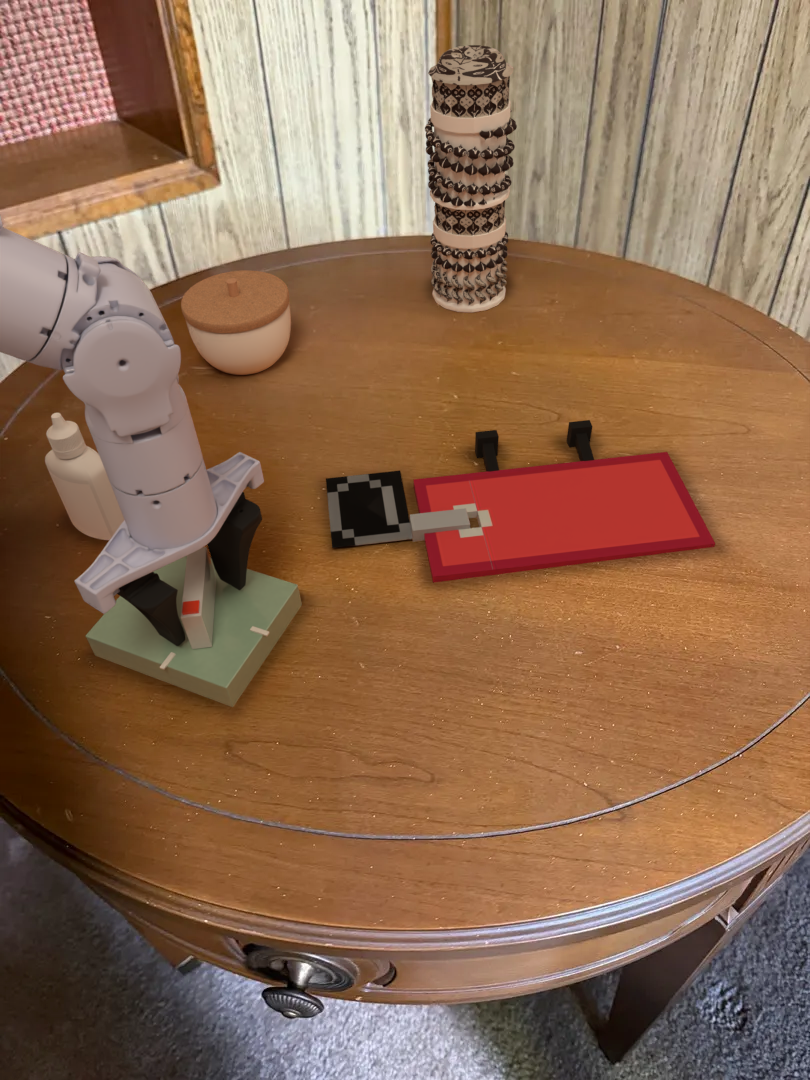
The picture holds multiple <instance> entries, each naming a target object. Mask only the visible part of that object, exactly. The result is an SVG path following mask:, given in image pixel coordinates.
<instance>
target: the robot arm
mask: <svg viewBox="0 0 810 1080" xmlns="http://www.w3.org/2000/svg"><path fill="white" fill-rule="evenodd" d="M0 353H2V354H5V355H8V356H10V357H12V358H16V359H19V360H22V361H25V362H27V363H30V364H32V365H36V366H39V367H43V368H48V369H54V370H58V371H63V372H64V374H63V376H62V380H63V382H64V384H65V385H66V387H67V389H68V390H69V391H70V392H71V393H72V394H73V395H74V397H76V398H77V399H78V400H80V401H81V402H83V404H84V419H85V423H86V425H87V427H88V430H89V432H90V433H89V434H90V435H91V438H92V440H93V443H94V446H95V449H96V450H97V451H96V452H97V453H98V454H99V456H100V458H101V461H102V463H103V466H104V468H105V471H106V474H107V476H108V479H109V481H110V484H111V486H112V489H113V491H114V494H115V497H116V499H117V502H118V504H119V507H120V509H121V512H122V514H123V517H124V519H125V520H124V521H123V522H122V524H121V525H120V526H119V528H118V529H117V531H116V532H115V533H114V535H113V536H112V538H111V539H110V540H108V542H107V543H106V544H105V546H104V547H103V549H102V550H101V551H100V552H99V554H98V555H97V557H96V558H95V560H93V562H92V563H91V565H89V567H88V568H86V570H85V571H83V573H82V574H81V575H79V576H78V577H77V578H76V579H74V580H73V581H74V583H75V586H76V588H77V590H78V592H79V594H80V596H81V598H82V600H83V602H84V603H86V604H88V605H89V606H90V607H92V608H93V609H95V610H97V611H98V612H100V613H101V614H103V615H104V614H105V613H106V612H108V611H109V610H110V609H111V608H112V607H114V606H115V604H116V599H115V596H116V595H118V597H119V596H121V597H123V598H124V599H125V600H127V601H128V602H129V603H131V604H132V605H133V606H134V607H135V608H137V609H138V610H139V611H140V612H141V613H142V614H143V615H144V616H145V617H146V618H147V619H148V620H149V622H150V623H151V624H152V625H153V626H154V628H155V629H156V630H157V632H158V633H159V635H160V636H162V637H164V638H165V639H167V640H168V641H170V642H171V643H173V644H174V645H176V646H179V645H180V644H182V643H183V642H184V641H185V632H184V630H183V627H182V624H181V622H180V619H179V616H178V612H177V604H176V598H177V592H178V590H177V589H175V588H174V587H172V586H170V585H169V584H167V583H165V582H164V581H162V580H160V578H159V576H158V574H157V573H154V572H153V571H155V570H157V569H160V568H162V567H164V566H166V565H168V564H170V563H172V562H174V561H177V560H179V559H181V558H183V557H185V556H187V555H189V554H191V553H194V552H196V551H197V550H199V549H201V548H203V547H207V549H208V553H209V556H210V557H211V558H212V562H213V565H214V568H215V570H216V572H217V574H218V576H219V578H220V580H222V581H224V582H226V583H227V584H229V585H231V586H233V587H234V588H236V589H238V590H241V589H242V588H243V587H244V586H245V584H246V573H247V569H248V561H249V556H250V555H249V554H250V550H251V548H252V547H251V546H252V543H253V540H254V537H255V534H256V532H257V530H258V528H259V526H260V524H261V523H262V520H263V516H262V511H261V508H260V506H259V504H257V503H255V502H253V501H251V500H250V499H247V498H246V495H245V492H244V490H245V489H247V488H249V489H251V490H256V489H258V488H259V487H260V486H261V485H262V484H264V483H265V479H264V474H263V469H262V465H261V461H260V460H258V459H256V458H253V457H252V456H250V455H247V454H245V453H244V452H241V451H239V452H237V453H236V454H234V455H232V457H230V458H228V459H226V460H224V461H223V462H220V463H218V464H217V465H214V466H211V467H209V468H206V463H205V460H204V456H203V453H202V449H201V446H200V442H199V441H200V440H199V438H198V436H197V435H198V434H197V432H196V428H195V424H194V421H193V417H192V414H191V410H190V406H189V402H188V399H187V396H186V393H185V391H184V389H183V387H182V386H181V385H180V376H179V373H180V369H181V365H182V351H181V346H180V345H178V344H175V339H174V337H173V334H172V332H171V330H170V329H169V326H168V324H167V321H166V320H165V318H164V316H163V314H162V311H161V310H160V308H159V306H158V303H157V301H156V299H155V297H154V295H153V293H152V291H151V290H150V288H149V286H148V285H147V284H146V283H145V282H144V280H143V279H142V278H141V277H140V276H139V275H138V274H137V273H136V272H134V270H132V269H131V268H128V267H127V266H125V265H124V264H123V263H122V262H121V261H120V260H119V259H117V258H116V257H111V256H101V255H100V256H99V255H97V256H89V255H87V254H85V253H83V252H78V253H77V254H76V256H75V258H73V257H71V256H69V255H67V254H64V253H62V252H60V251H57V250H55V249H53V248H51V247H48V246H46V245H44V244H42V243H40V242H37V241H35V240H33V239H31V238H29V237H26V236H24V235H22V234H19V233H18V232H15V231H14V230H13V231H12V229H11V230H10V229H8V228H6V227H3V219H2V216H1V215H0Z"/></svg>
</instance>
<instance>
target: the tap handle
mask: <svg viewBox="0 0 810 1080" xmlns="http://www.w3.org/2000/svg"><path fill="white" fill-rule="evenodd" d="M210 557H211V555H210V552H209V549H208V546H204V547H203V548H201V549H199V550H197V551H196V552H194V553H191V554H189V555H187V560H186V570H185V579H184V589H183V599H182V608H181V620H182V623H183V626H184V628H185V631H186V634H187V637H188V639H189V642H190V645H191V647H192V649H199V648H208V647H212V639H213V624H214V610H215V595H216V581H217V579H216V575H215V572H214V569H213V566H212V562H211V559H210Z"/></svg>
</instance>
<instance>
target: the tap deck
mask: <svg viewBox="0 0 810 1080" xmlns="http://www.w3.org/2000/svg"><path fill="white" fill-rule="evenodd" d="M210 559H211V562H212V558H211V556H210ZM186 560H187V556H185V557H183V558H181V559H179V560H177V561H174V562H172V563H170V564H168V565H166V566H164V567H162V568H160V569H157V570H155V571H153V572H154V573H157V574H158V576H159V578H160V580H162V581H164V582H165V583H167V584H169V585H170V586H172V587H174V588H175V589H177V590H178V592H177V598H176V604H177V612H178V616H179V619H180V622H181V624H182V627H183V630H184V632H185V641H184V642H183V643H182V644H180V645H179V646H176V645H174V644H173V643H171V642H170V641H168V640H167V639H165V638H164V637H162V636H160V635H159V633H158V632H157V630H156V629H155V628H154V626H153V625H152V624H151V623H150V622H149V620H148V619H147V618H146V617H145V616H144V615H143V614H142V613H141V612H140V611H139V610H138V609H137V608H135V607H134V606H133V605H132V604H131V603H129V602H128V601H127V600H125V599H124V598H123V597H121V596H119V595H118V597H117V598H116V599H115V601H116V604H115V606H114V607H112V608H111V609H110V610H109V611H108V612H106V613H105V614H103V615H102V616H101V617H100V618H99V619H98V620H97V621H96V622H95V624H94V625H93V626H92V627H91V628H90V629H89V631H88V632H87V633H86V634H85V638H86V640H87V643H88V644H89V646H90V648H91V650H92V652H93V654H94V656H95V657H98V658H101V659H103V660H106V661H108V662H111V663H114V664H116V665H119V666H122V667H124V668H127V669H130V670H132V671H135V672H137V673H141V674H143V675H145V676H148V677H151V678H153V679H156V680H159V681H161V682H164V683H167V684H170V685H172V686H175V687H177V688H180V689H183V690H185V691H188V692H191V693H193V694H196V695H199V696H202V697H204V698H206V699H210V700H212V701H215V702H217V703H220V704H223V705H225V706H228V707H230V708H233V707H235V706H236V704H237V703H238V701H239V700H240V698H241V697H242V695H243V693H244V692H245V691H246V690H247V687H249V685H250V683H251V681H252V680H253V678H254V677H255V676H256V674H257V673H258V671H259V670H260V668H261V666H262V665H263V664H264V662H265V661H266V659H267V658H268V656H269V655H270V653H271V652H272V650H273V649H274V648H275V646H276V644H277V643H278V641H279V640H280V638H281V637H282V636H283V634H284V633H285V631H286V630H287V628H288V627H289V625H290V624H291V622H292V621H293V619H294V617H295V616H296V615H297V613H298V612H299V610H300V609H301V607H302V606H303V602H302V598H301V593H300V589H299V588H300V587H299V585H298V584H297V583H294V582H290V581H287V580H285V579H281V578H278V577H274V576H271V575H269V574H265V573H262V572H259V571H255V570H253V569H249V568H247V573H246V584H245V586H244V587H243V588H242V589H241V590H238V589H236V588H234V587H233V586H231V585H229V584H227V583H226V582H224V581H222V580H220V578H219V576H218V574H217V572H216V570H215V568H214V565H213V562H212V566H213V569H214V572H215V575H216V579H217V581H216V595H215V610H214V624H213V639H212V647H208V648H199V649H192V647H191V645H190V642H189V639H188V637H187V634H186V631H185V628H184V626H183V623H182V620H181V608H182V599H183V589H184V579H185V570H186Z"/></svg>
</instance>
